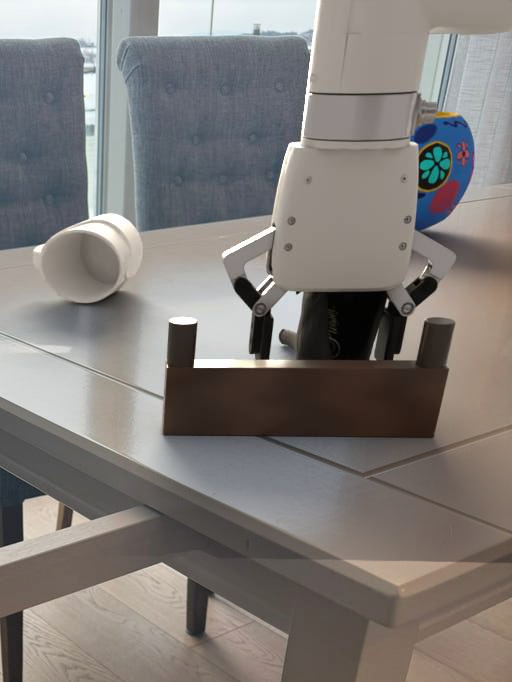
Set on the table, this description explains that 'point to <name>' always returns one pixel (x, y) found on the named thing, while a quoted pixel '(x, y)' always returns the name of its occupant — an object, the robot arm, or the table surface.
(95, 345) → the table surface
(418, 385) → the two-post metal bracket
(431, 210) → the ceramic pot
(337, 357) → the high-heeled shoe
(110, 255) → the mug
